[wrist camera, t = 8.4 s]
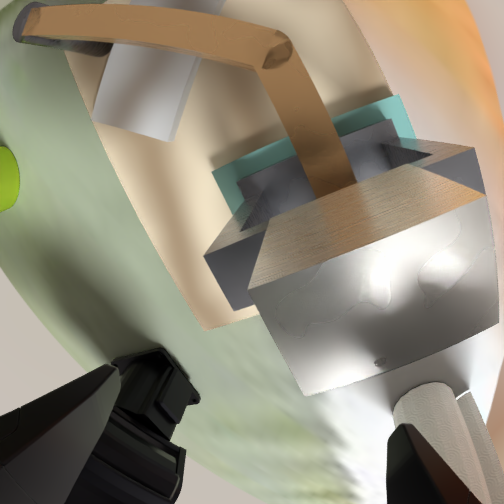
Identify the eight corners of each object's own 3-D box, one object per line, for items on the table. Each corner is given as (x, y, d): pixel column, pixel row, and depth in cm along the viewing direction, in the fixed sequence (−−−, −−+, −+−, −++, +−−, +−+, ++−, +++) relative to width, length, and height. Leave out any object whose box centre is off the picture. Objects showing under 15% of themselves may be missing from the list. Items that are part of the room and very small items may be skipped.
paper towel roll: (379, 416, 25) (395, 632, 5) (421, 372, 22) (476, 614, 3) (429, 428, 25) (461, 609, 5) (469, 390, 22) (529, 581, 3)
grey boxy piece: (239, 179, 17) (115, 293, 5) (386, 118, 14) (559, 116, 3) (270, 244, 18) (221, 435, 6) (411, 188, 15) (570, 305, 4)
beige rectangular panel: (207, 323, 23) (200, 339, 21) (68, 41, 16) (51, 37, 14) (435, 240, 18) (447, 251, 16) (278, -77, 12) (275, -93, 10)
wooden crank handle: (352, 273, 19) (375, 346, 12) (83, 49, 16) (7, 34, 9) (424, 203, 17) (484, 246, 10) (139, -23, 13) (77, -66, 7)
